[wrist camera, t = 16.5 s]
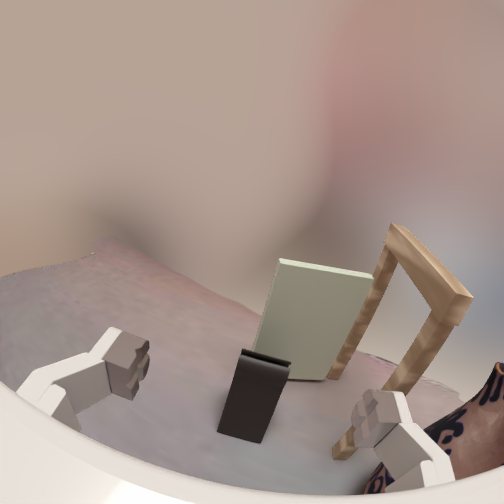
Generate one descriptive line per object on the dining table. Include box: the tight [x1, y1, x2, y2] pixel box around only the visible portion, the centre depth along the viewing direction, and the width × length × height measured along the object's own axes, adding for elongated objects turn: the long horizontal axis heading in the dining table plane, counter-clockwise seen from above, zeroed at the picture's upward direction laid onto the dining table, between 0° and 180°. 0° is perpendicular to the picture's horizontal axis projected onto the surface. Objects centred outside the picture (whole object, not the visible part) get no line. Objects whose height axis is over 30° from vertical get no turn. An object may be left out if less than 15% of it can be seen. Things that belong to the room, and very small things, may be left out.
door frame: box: [327, 223, 474, 460], centre depth 34 cm, size 2×19×28 cm, turn 173°
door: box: [252, 258, 374, 380], centre depth 41 cm, size 3×13×20 cm, turn 93°
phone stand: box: [217, 348, 291, 443], centre depth 34 cm, size 9×6×12 cm, turn 168°
